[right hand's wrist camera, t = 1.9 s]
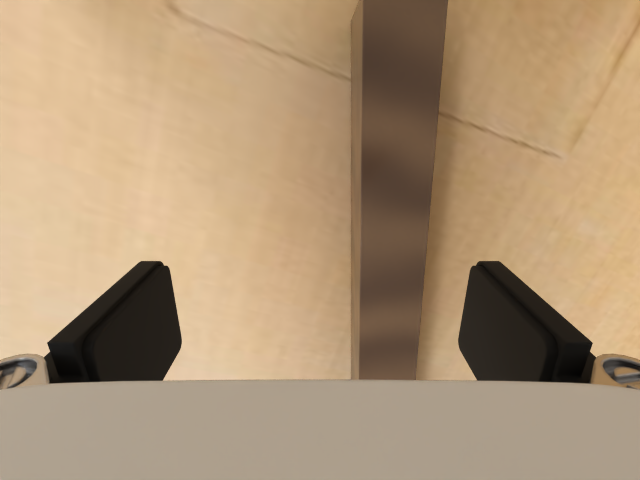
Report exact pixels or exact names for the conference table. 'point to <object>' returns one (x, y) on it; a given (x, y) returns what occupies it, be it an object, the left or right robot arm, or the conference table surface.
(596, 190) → the conference table surface
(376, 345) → the bar
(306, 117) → the conference table surface
